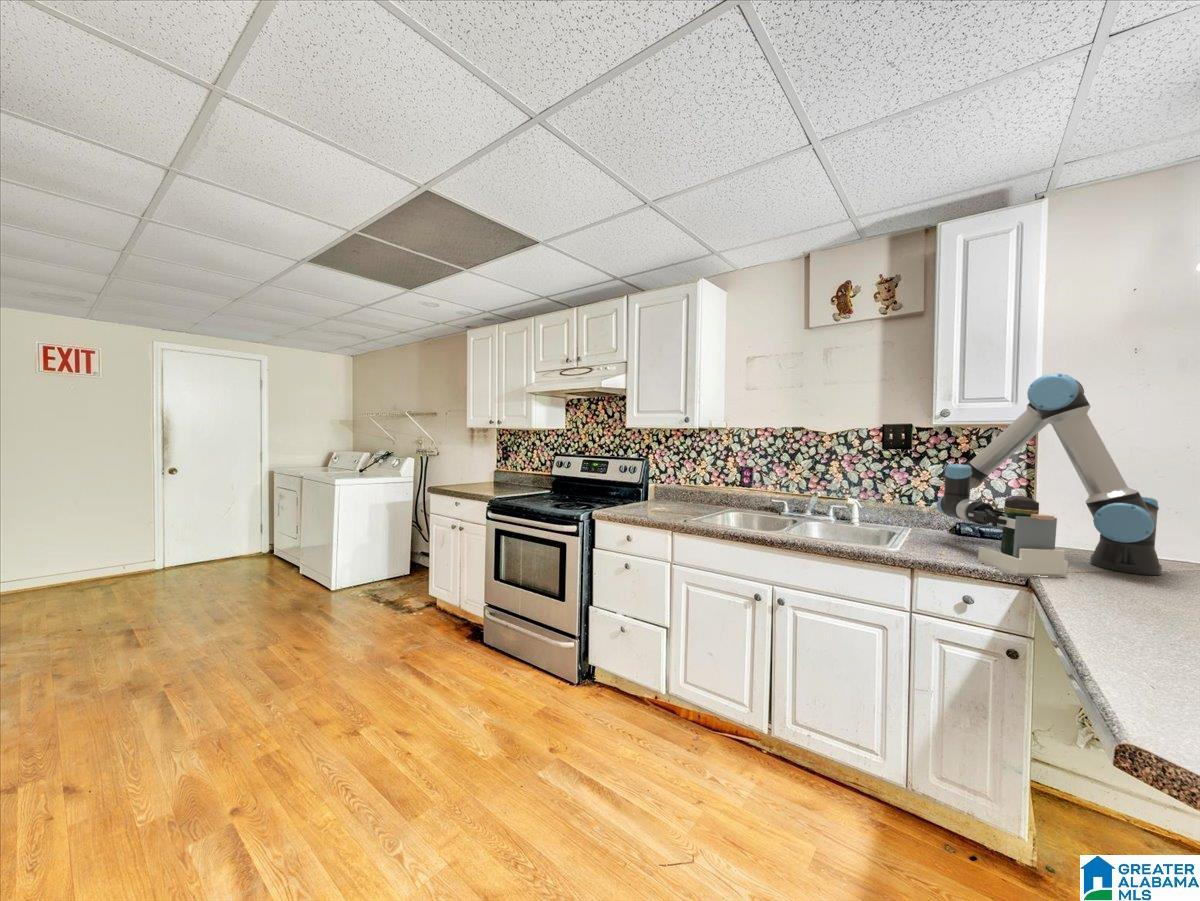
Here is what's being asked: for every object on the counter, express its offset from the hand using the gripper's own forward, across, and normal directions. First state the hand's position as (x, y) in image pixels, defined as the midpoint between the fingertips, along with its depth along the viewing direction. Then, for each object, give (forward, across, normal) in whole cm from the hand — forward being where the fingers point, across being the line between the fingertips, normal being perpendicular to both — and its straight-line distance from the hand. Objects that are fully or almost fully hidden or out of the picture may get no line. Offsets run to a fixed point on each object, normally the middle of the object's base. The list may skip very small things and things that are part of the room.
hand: (1033, 525), depth 141 cm
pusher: (+2, 0, -9) cm, 10 cm away
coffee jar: (-5, 0, -11) cm, 12 cm away
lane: (-4, 0, -14) cm, 15 cm away
